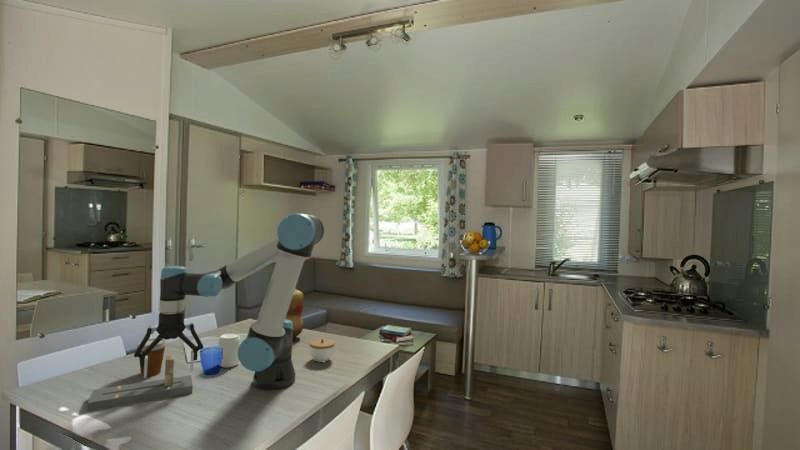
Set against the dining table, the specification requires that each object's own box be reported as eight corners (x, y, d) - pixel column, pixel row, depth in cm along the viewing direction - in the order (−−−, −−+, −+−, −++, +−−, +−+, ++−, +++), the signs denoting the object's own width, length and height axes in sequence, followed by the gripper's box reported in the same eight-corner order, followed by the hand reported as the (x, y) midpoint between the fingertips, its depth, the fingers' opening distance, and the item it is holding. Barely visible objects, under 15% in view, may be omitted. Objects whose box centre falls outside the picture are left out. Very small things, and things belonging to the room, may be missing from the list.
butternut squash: (288, 344, 184) (290, 293, 184) (269, 339, 191) (271, 289, 191) (308, 337, 196) (310, 289, 196) (290, 333, 202) (292, 286, 202)
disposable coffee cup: (150, 379, 138) (152, 347, 138) (129, 376, 140) (130, 344, 140) (171, 370, 147) (172, 339, 147) (150, 367, 149) (152, 336, 149)
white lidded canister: (213, 366, 153) (214, 336, 153) (229, 359, 161) (230, 331, 161) (228, 369, 150) (229, 339, 150) (243, 363, 158) (244, 334, 158)
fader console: (190, 381, 138) (191, 374, 138) (192, 393, 129) (192, 385, 129) (92, 397, 123) (93, 389, 123) (87, 411, 114) (87, 402, 114)
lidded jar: (315, 366, 158) (316, 344, 158) (304, 358, 166) (305, 337, 166) (338, 361, 165) (339, 340, 164) (326, 354, 173) (327, 333, 173)
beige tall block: (172, 380, 132) (173, 354, 132) (172, 385, 128) (174, 359, 128) (164, 381, 131) (165, 356, 131) (164, 386, 127) (165, 360, 127)
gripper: (211, 306, 139) (208, 363, 139) (128, 312, 126) (125, 375, 126) (213, 310, 133) (210, 370, 133) (126, 317, 120) (123, 383, 120)
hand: (169, 373), depth 130 cm, fingers open, 13 cm apart
